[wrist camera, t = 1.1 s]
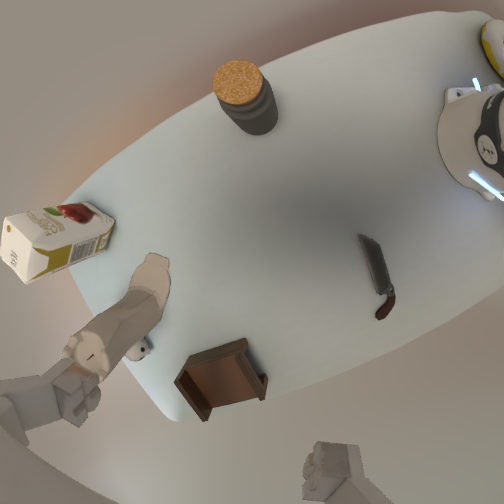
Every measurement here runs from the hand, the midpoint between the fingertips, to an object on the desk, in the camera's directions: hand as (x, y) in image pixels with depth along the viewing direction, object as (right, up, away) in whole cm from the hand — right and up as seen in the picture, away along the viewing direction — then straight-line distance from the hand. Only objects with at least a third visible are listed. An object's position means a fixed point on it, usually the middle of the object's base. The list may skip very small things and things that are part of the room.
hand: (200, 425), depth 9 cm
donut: (+48, +42, +19) cm, 66 cm away
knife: (+20, +3, +32) cm, 38 cm away
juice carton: (-25, +10, +37) cm, 46 cm away
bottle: (+3, +25, +30) cm, 39 cm away
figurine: (-18, -10, +41) cm, 46 cm away
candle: (-15, 0, +38) cm, 41 cm away
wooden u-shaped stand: (-2, -14, +39) cm, 42 cm away
